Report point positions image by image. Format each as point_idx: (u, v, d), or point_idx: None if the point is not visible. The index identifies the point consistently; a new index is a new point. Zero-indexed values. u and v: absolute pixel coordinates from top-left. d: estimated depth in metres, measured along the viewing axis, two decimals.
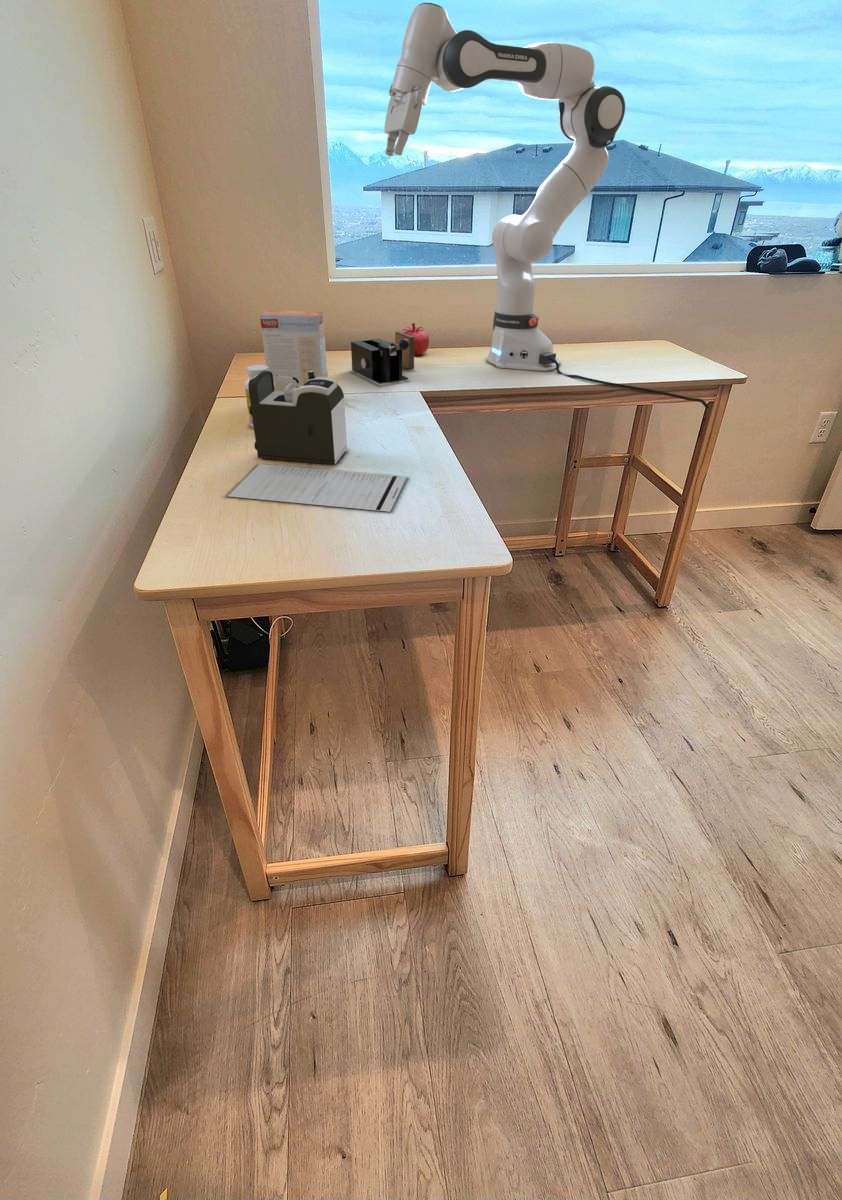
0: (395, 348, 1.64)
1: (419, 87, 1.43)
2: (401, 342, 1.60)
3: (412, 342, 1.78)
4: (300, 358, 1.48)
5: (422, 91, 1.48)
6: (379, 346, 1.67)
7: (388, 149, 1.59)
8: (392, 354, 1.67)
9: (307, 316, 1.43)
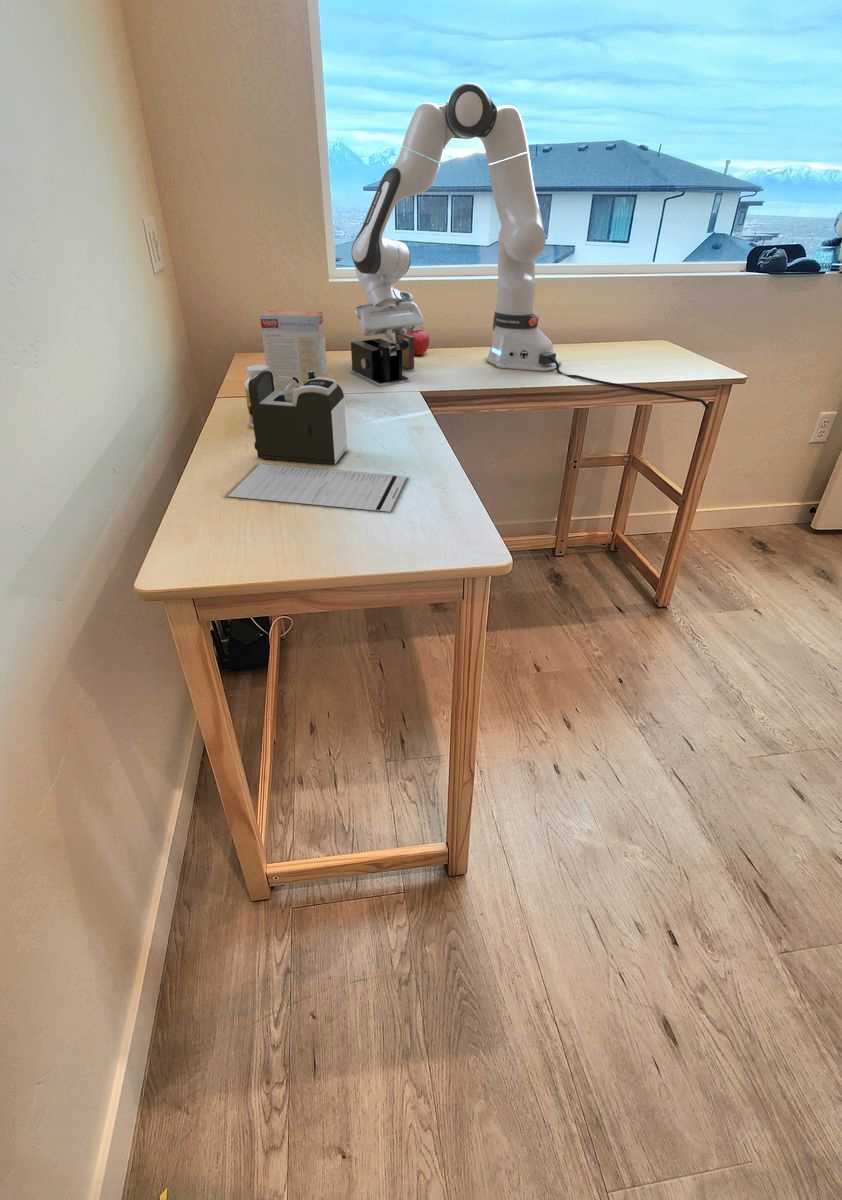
0: (395, 348, 1.64)
1: (356, 307, 1.81)
2: (401, 342, 1.60)
3: (412, 342, 1.78)
4: (300, 358, 1.48)
5: (374, 299, 1.81)
6: (379, 346, 1.67)
7: None
8: (392, 354, 1.67)
9: (307, 316, 1.43)
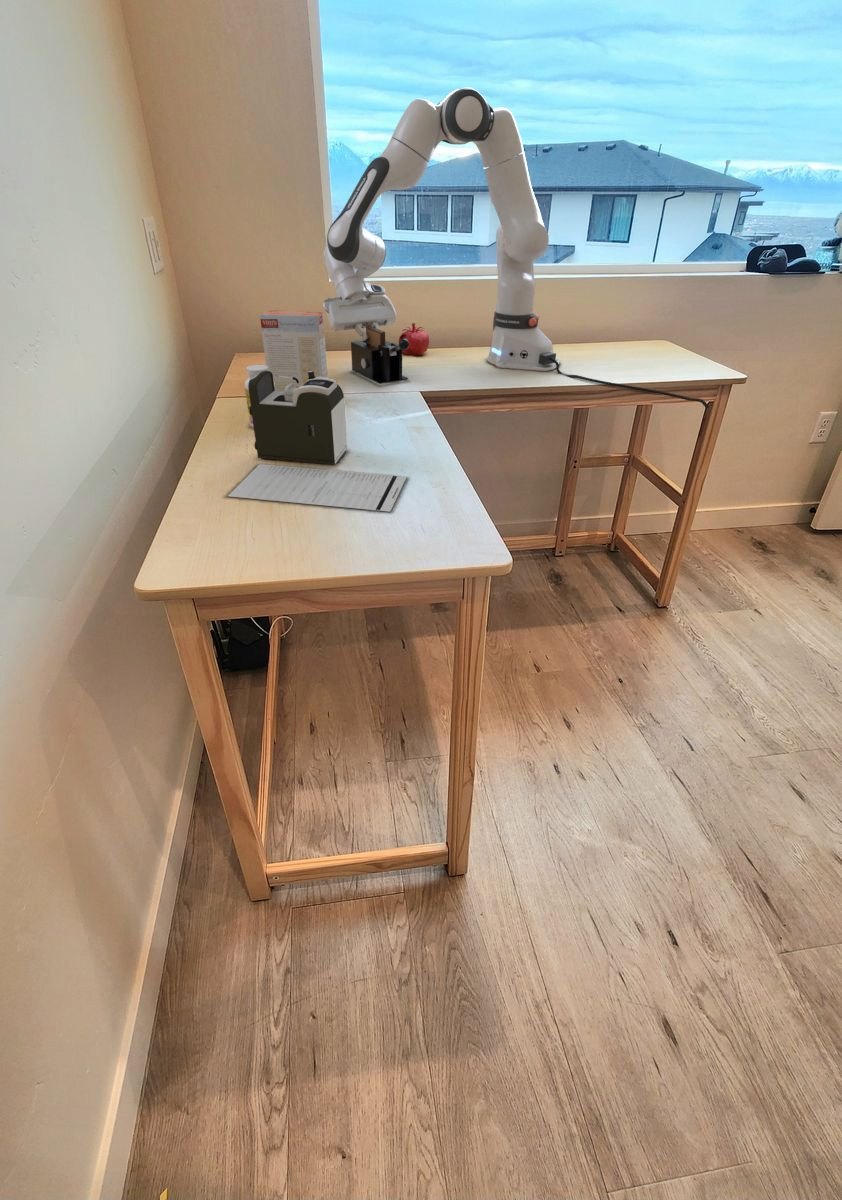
0: (395, 348, 1.64)
1: (325, 300, 1.72)
2: (401, 342, 1.60)
3: (383, 337, 1.69)
4: (300, 358, 1.48)
5: (344, 292, 1.72)
6: (379, 346, 1.67)
7: None
8: (392, 354, 1.67)
9: (307, 316, 1.43)
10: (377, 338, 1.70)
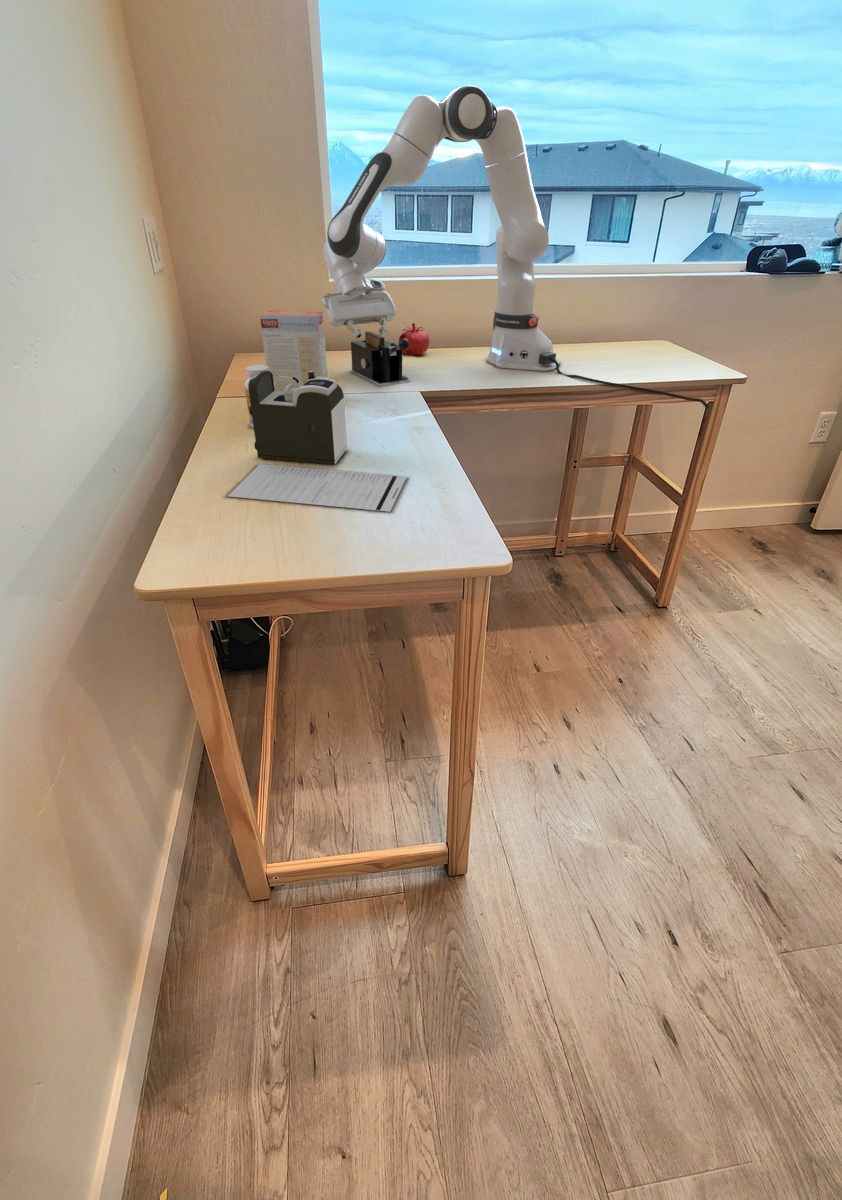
0: (395, 348, 1.64)
1: (324, 296, 1.71)
2: (401, 342, 1.60)
3: (382, 343, 1.70)
4: (300, 358, 1.48)
5: (343, 287, 1.71)
6: (379, 346, 1.67)
7: (379, 331, 1.76)
8: (392, 354, 1.67)
9: (307, 316, 1.43)
10: (376, 343, 1.71)
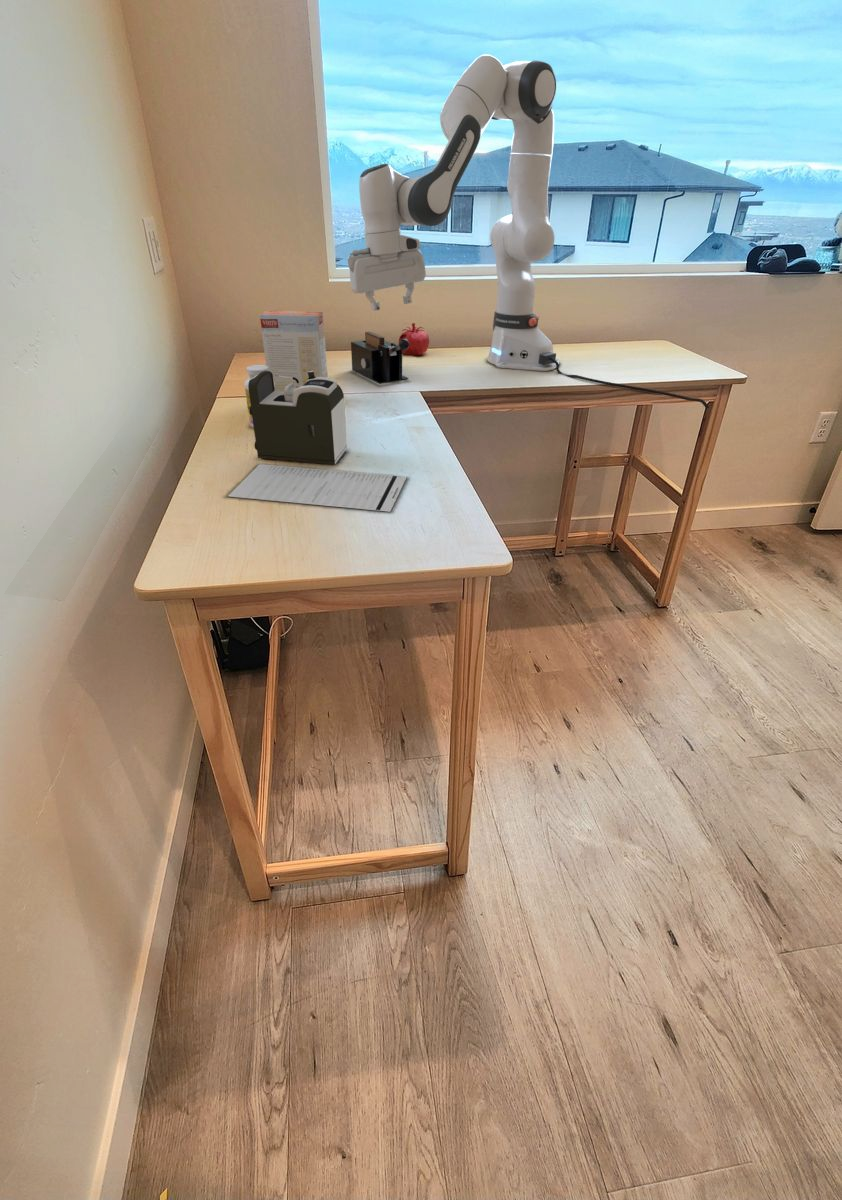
0: (395, 348, 1.64)
1: None
2: (401, 342, 1.60)
3: (382, 343, 1.70)
4: (300, 358, 1.48)
5: (374, 247, 1.49)
6: (379, 346, 1.67)
7: None
8: (392, 354, 1.67)
9: (307, 316, 1.43)
10: (376, 343, 1.71)
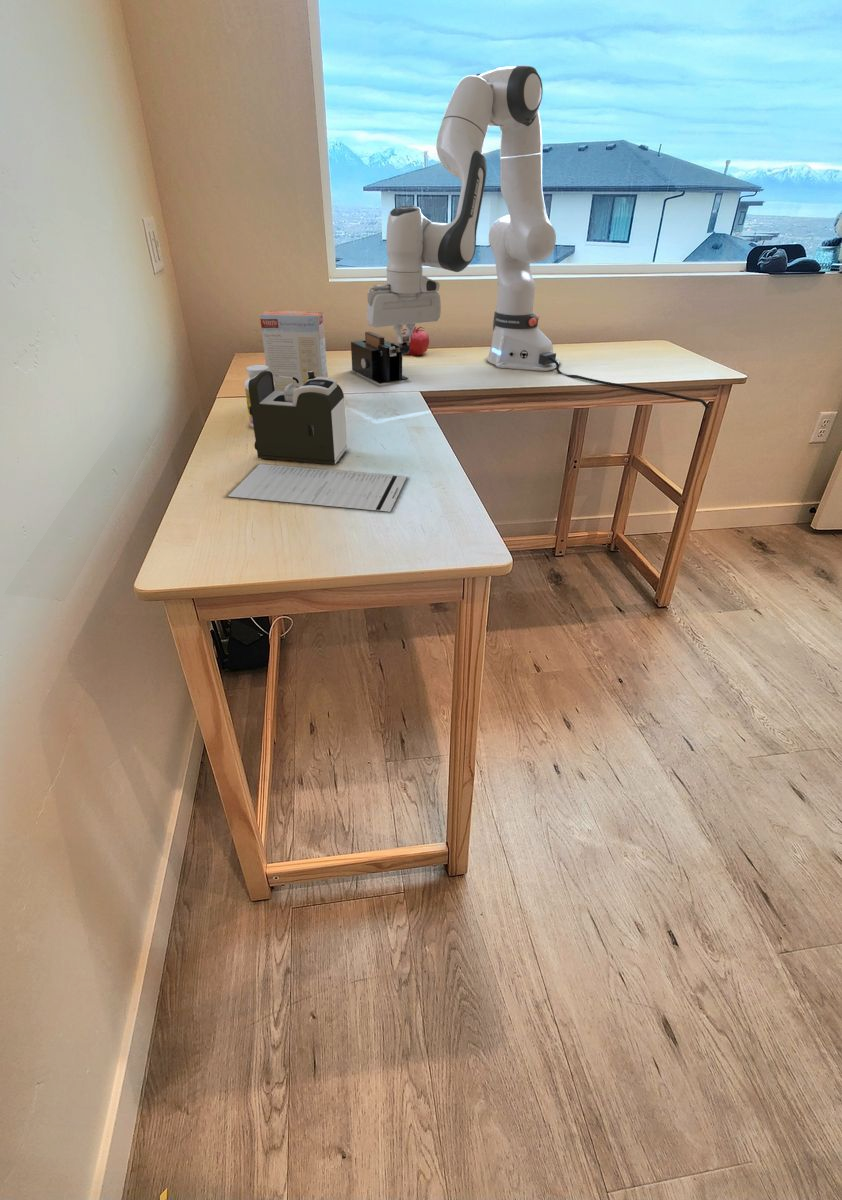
0: (395, 350, 1.64)
1: None
2: (402, 346, 1.60)
3: (382, 343, 1.70)
4: (300, 358, 1.48)
5: (395, 285, 1.50)
6: (379, 346, 1.67)
7: None
8: (392, 355, 1.67)
9: (307, 316, 1.43)
10: (376, 343, 1.71)
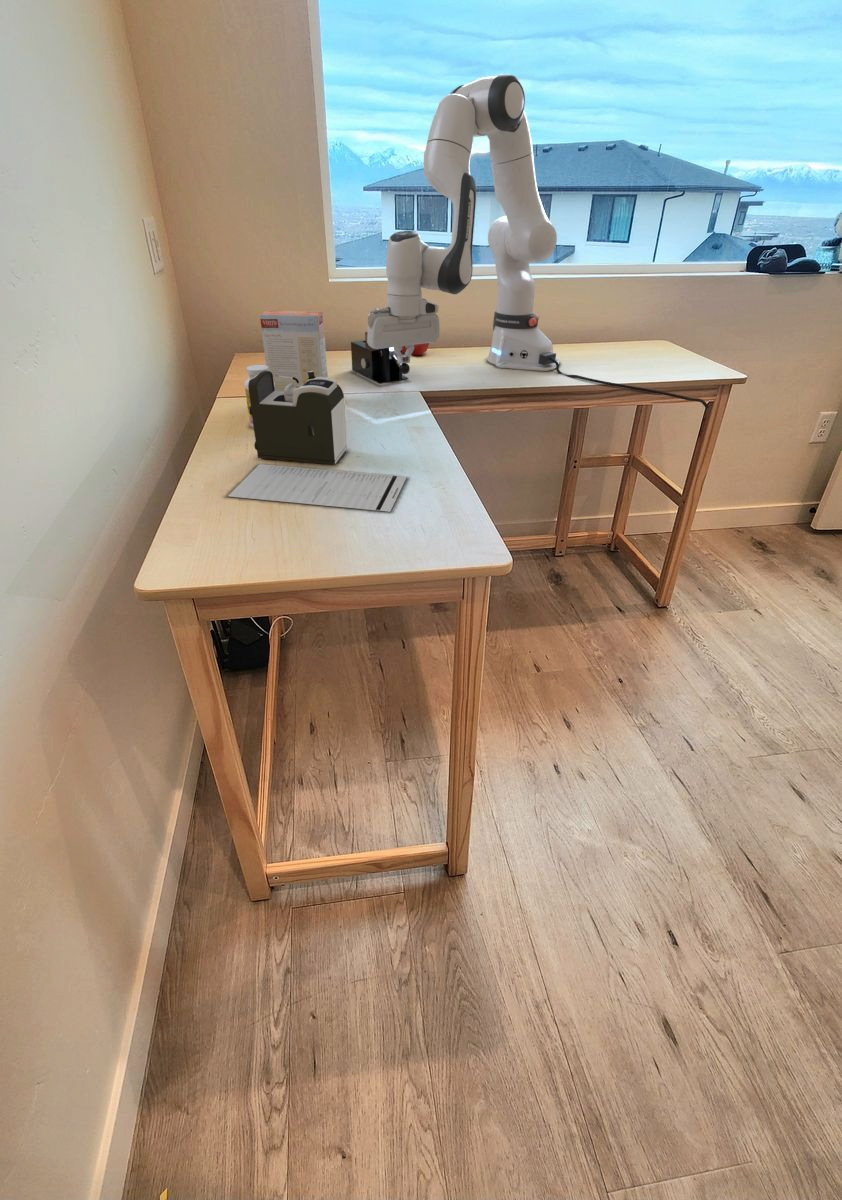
0: (395, 360, 1.66)
1: (371, 311, 1.52)
2: (402, 369, 1.63)
3: None
4: (300, 358, 1.48)
5: (395, 308, 1.53)
6: None
7: None
8: (391, 358, 1.68)
9: (307, 316, 1.43)
10: None
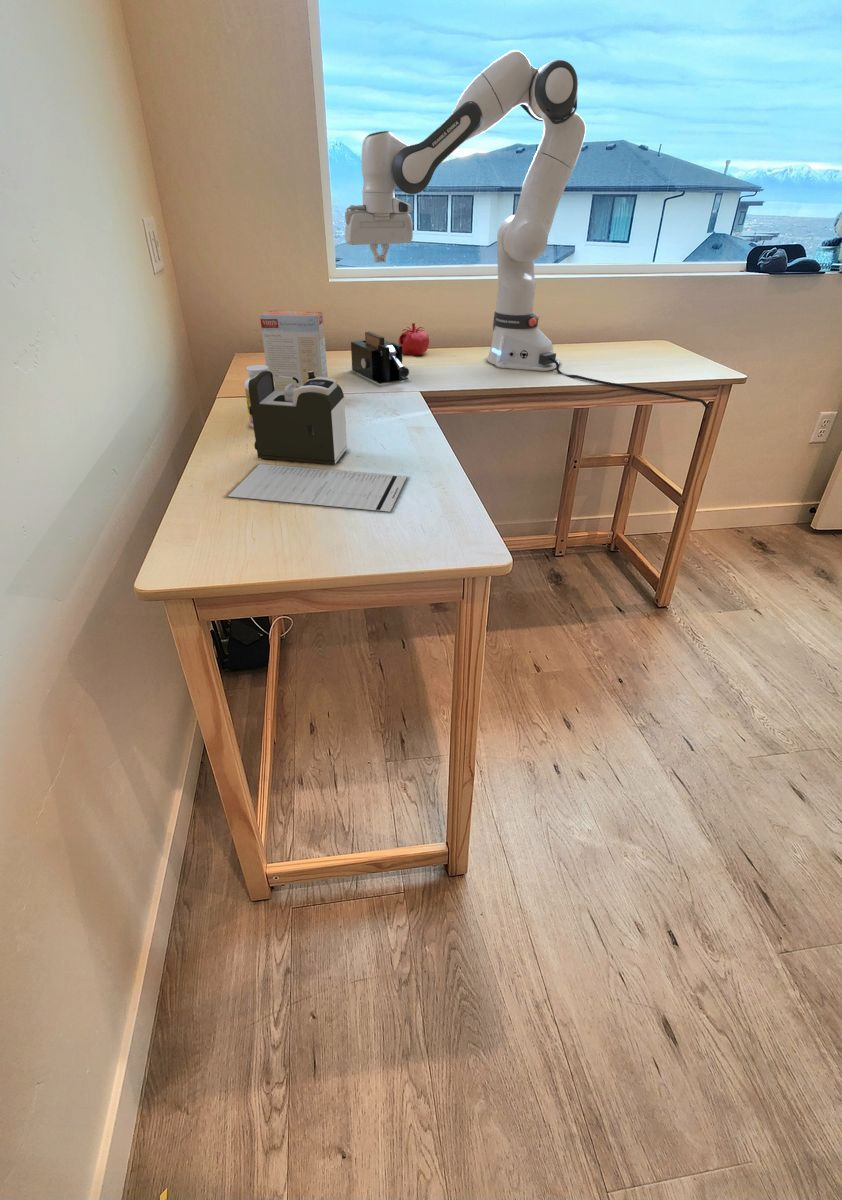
0: (395, 362, 1.66)
1: None
2: (402, 373, 1.64)
3: (382, 343, 1.70)
4: (300, 358, 1.48)
5: (370, 205, 1.66)
6: (379, 346, 1.67)
7: None
8: (391, 358, 1.68)
9: (307, 316, 1.43)
10: (376, 343, 1.71)
